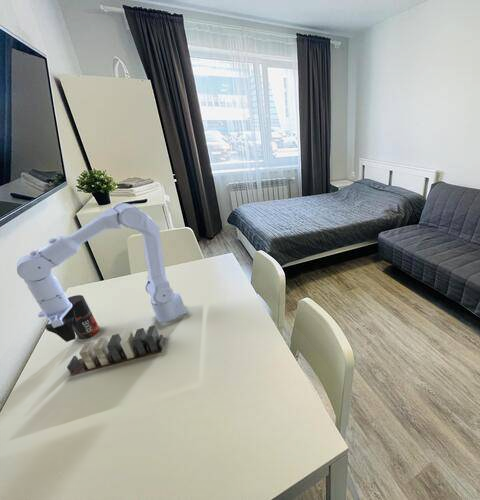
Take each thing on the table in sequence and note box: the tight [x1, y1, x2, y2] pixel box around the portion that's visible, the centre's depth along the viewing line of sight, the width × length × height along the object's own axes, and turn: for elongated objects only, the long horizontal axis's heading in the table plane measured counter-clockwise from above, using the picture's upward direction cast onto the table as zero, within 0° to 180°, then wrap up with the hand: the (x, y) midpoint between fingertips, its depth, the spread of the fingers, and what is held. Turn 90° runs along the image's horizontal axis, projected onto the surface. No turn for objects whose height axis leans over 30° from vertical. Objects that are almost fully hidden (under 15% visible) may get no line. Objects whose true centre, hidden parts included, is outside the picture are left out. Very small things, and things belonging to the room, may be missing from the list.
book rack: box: [66, 324, 166, 378], centre depth 83 cm, size 24×7×8 cm, turn 112°
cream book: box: [120, 330, 135, 359], centre depth 84 cm, size 2×5×6 cm, turn 22°
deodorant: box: [67, 294, 101, 341], centre depth 91 cm, size 6×6×15 cm
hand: (71, 332), depth 81 cm, fingers open, 7 cm apart
